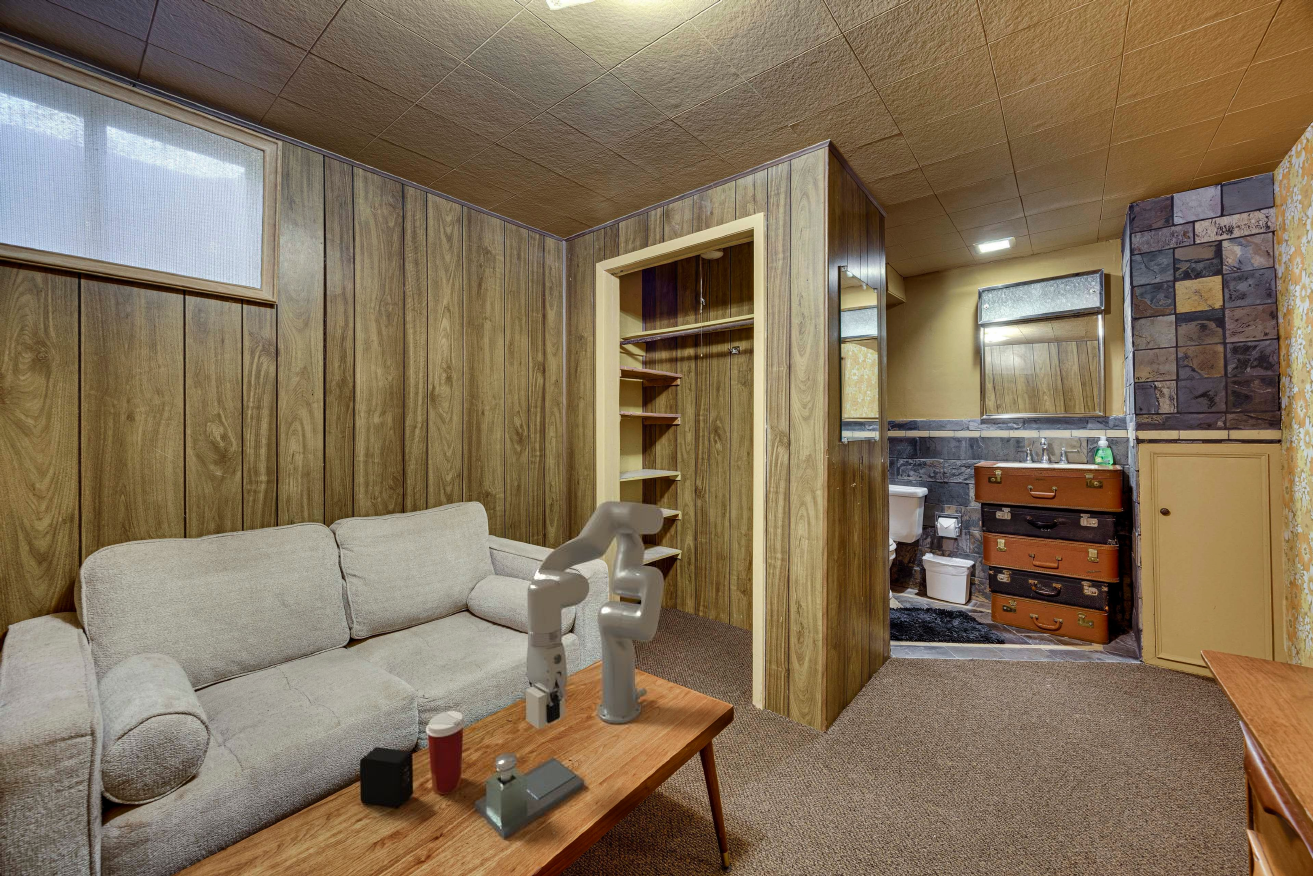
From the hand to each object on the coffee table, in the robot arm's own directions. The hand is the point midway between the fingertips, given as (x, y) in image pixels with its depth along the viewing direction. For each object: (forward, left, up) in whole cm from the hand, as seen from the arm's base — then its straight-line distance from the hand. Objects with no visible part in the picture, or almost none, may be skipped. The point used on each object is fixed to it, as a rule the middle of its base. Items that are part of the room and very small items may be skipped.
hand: (545, 714), depth 114 cm
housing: (0, 0, -1) cm, 1 cm away
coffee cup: (+15, -18, -17) cm, 29 cm away
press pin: (+11, +1, -10) cm, 15 cm away
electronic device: (+26, -23, -17) cm, 38 cm away
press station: (+4, 0, -16) cm, 17 cm away
